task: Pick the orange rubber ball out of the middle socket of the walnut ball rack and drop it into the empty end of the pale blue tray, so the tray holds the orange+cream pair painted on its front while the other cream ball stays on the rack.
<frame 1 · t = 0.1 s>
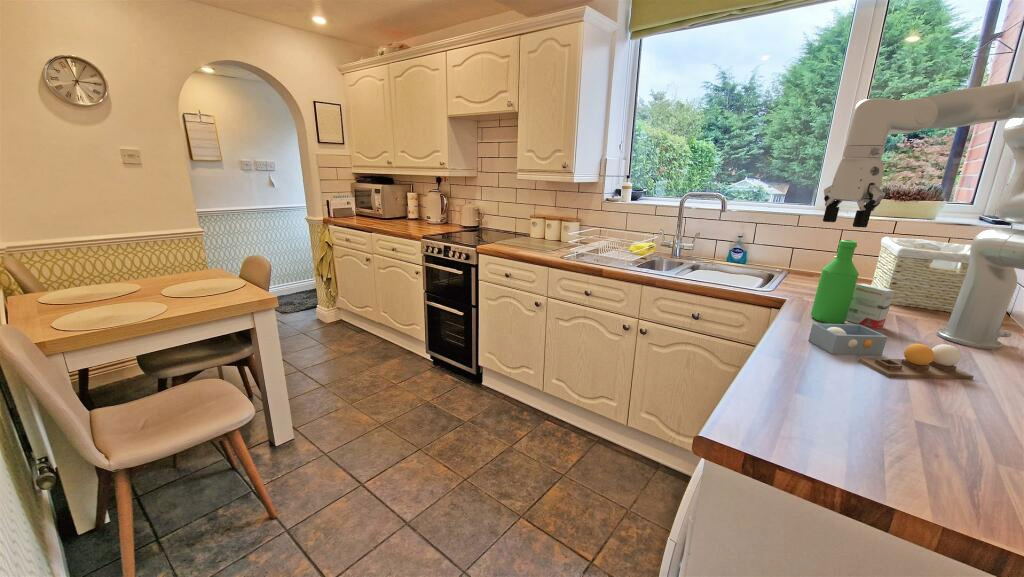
hand: (843, 224, 106), 31 cm above the worktop, fingers open, 9 cm apart
orange ball: (918, 354, 96), point 4 cm above the worktop, touching walnut rack
ink box: (863, 324, 128), on the worktop
bottle: (826, 320, 129), on the worktop
cream ball in tray: (834, 336, 107), point 3 cm above the worktop, touching pale blue tray
cream ball on rack: (945, 355, 96), point 4 cm above the worktop, touching walnut rack
pale blue tray: (843, 347, 108), on the worktop
basket: (918, 302, 153), on the worktop
perfume bottle: (831, 300, 151), on the worktop
walnut rack: (913, 369, 97), on the worktop
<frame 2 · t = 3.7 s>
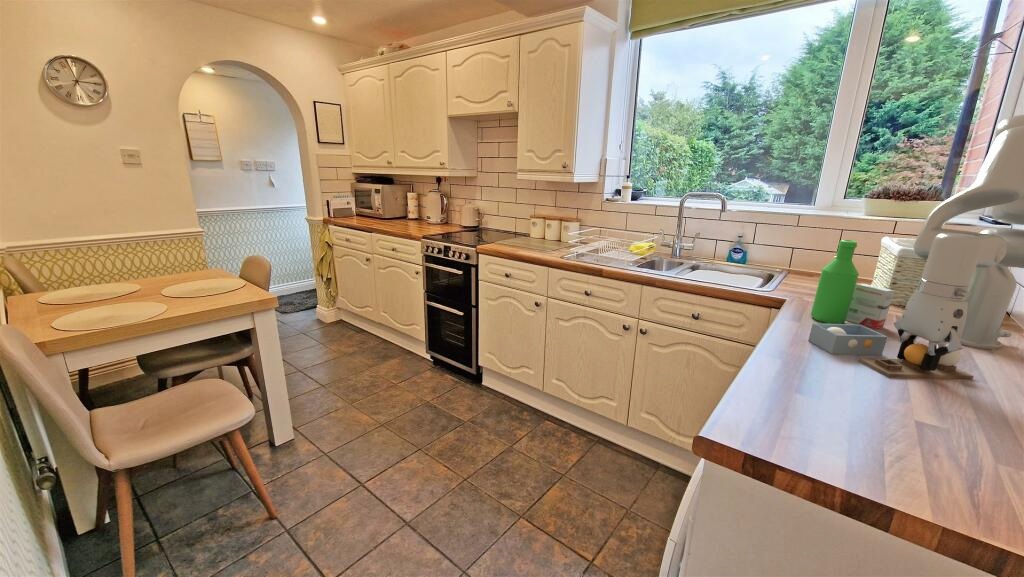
hand: (915, 363, 97), 2 cm above the worktop, fingers closed on orange ball, 4 cm apart
orange ball: (918, 354, 96), point 4 cm above the worktop, touching gripper, walnut rack
everything else where it was.
when the fingers open (5 cm above the worktop, at t = 7.6 s): orange ball drops 5 cm, resting on pale blue tray.
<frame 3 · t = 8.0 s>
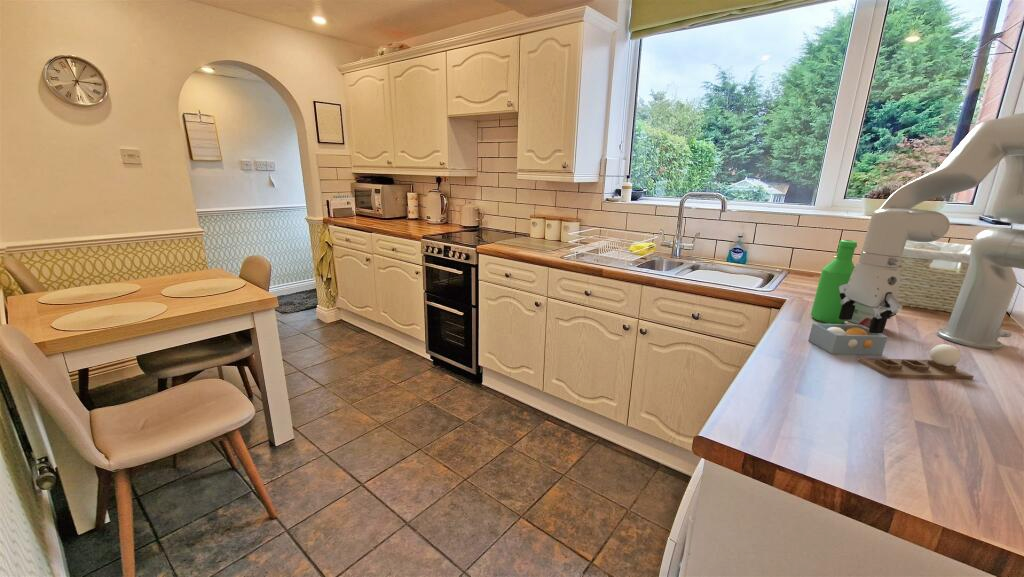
hand: (859, 325, 107), 6 cm above the worktop, fingers open, 9 cm apart
orange ball: (855, 337, 108), point 3 cm above the worktop, touching pale blue tray
everything else where it was.
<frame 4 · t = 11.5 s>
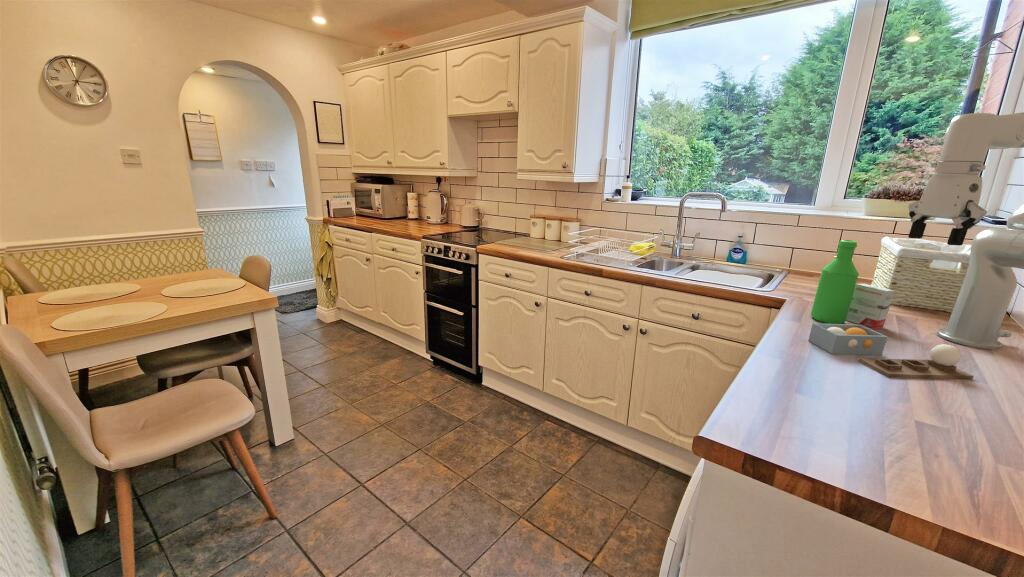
hand: (933, 241, 103), 28 cm above the worktop, fingers open, 9 cm apart
nothing on the worktop moved.
at the end: orange ball inside the target area on the pale blue tray (2.4 cm from its centre), point 3.0 cm above the pale blue tray's base; cream ball on rack moved 0.1 cm from its start; the gripper is holding nothing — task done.
